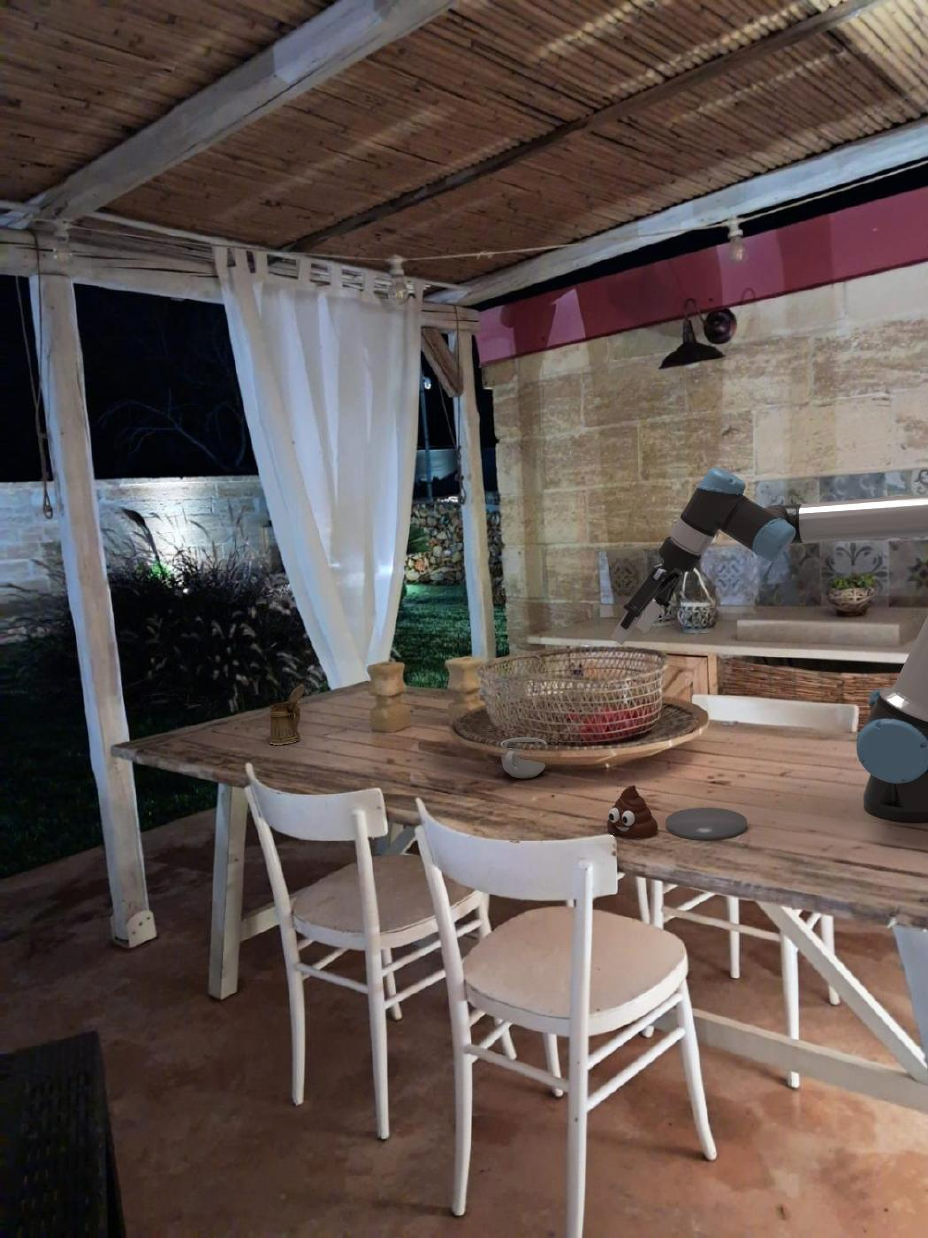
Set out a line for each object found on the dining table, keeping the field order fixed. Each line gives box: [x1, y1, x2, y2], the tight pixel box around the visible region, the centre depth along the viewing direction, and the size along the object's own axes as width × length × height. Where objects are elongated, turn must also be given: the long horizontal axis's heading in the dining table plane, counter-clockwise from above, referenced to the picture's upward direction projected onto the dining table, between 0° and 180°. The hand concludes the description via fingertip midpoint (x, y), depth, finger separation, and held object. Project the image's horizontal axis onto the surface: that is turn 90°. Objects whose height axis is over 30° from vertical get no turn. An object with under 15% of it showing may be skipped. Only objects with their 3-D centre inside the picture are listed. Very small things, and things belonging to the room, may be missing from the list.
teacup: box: [499, 736, 547, 779], centre depth 218 cm, size 14×11×8 cm
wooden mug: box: [268, 682, 306, 743], centre depth 272 cm, size 9×14×18 cm, turn 61°
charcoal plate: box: [665, 807, 748, 842], centre depth 176 cm, size 15×15×1 cm
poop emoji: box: [606, 784, 659, 839], centre depth 176 cm, size 10×8×9 cm
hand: (629, 635), depth 184 cm, fingers open, 13 cm apart
